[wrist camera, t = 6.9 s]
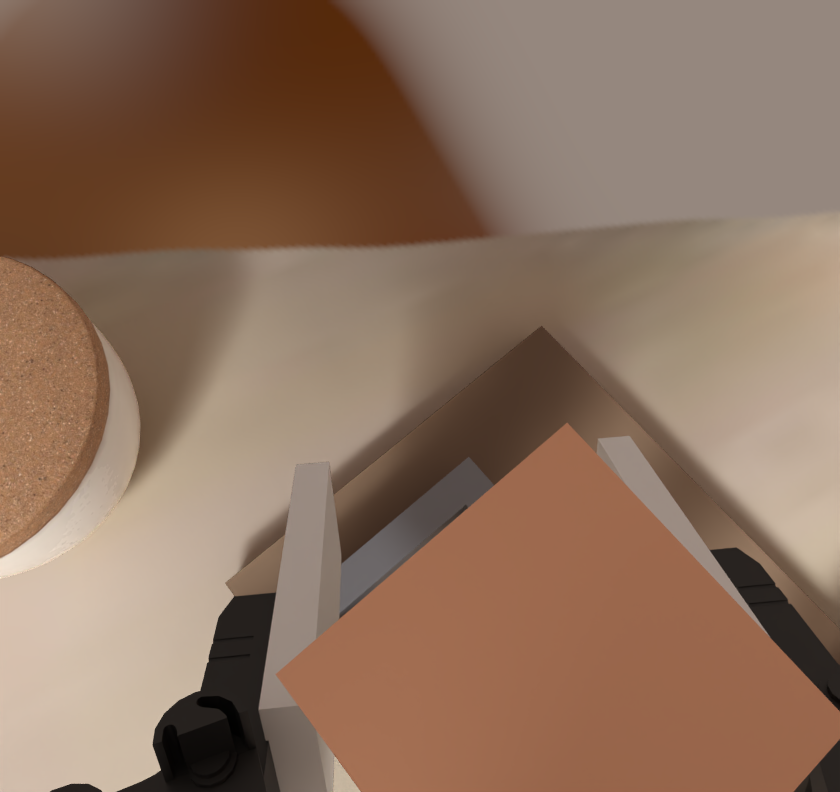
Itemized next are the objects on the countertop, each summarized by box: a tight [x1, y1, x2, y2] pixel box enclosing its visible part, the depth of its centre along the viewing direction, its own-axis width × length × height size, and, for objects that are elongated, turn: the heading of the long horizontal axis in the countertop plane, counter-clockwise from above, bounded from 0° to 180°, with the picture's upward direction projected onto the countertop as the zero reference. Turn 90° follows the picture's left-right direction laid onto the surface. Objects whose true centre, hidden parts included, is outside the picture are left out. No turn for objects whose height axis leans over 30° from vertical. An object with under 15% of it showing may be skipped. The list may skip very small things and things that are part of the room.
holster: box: [339, 457, 494, 619], centre depth 23 cm, size 9×9×2 cm
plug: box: [276, 423, 840, 792], centre depth 13 cm, size 4×4×12 cm
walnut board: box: [225, 326, 840, 665], centre depth 24 cm, size 30×16×2 cm, turn 40°
